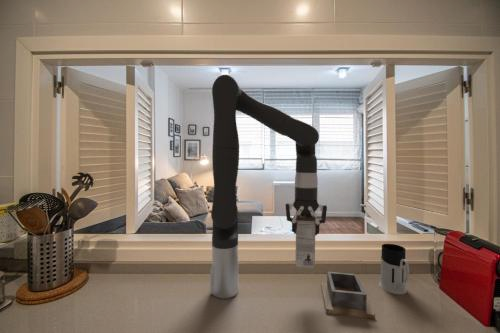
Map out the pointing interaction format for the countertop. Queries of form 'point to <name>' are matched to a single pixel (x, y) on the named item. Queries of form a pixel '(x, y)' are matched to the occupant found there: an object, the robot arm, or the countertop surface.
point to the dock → (345, 295)
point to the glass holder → (393, 269)
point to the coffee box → (305, 241)
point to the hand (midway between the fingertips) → (305, 233)
